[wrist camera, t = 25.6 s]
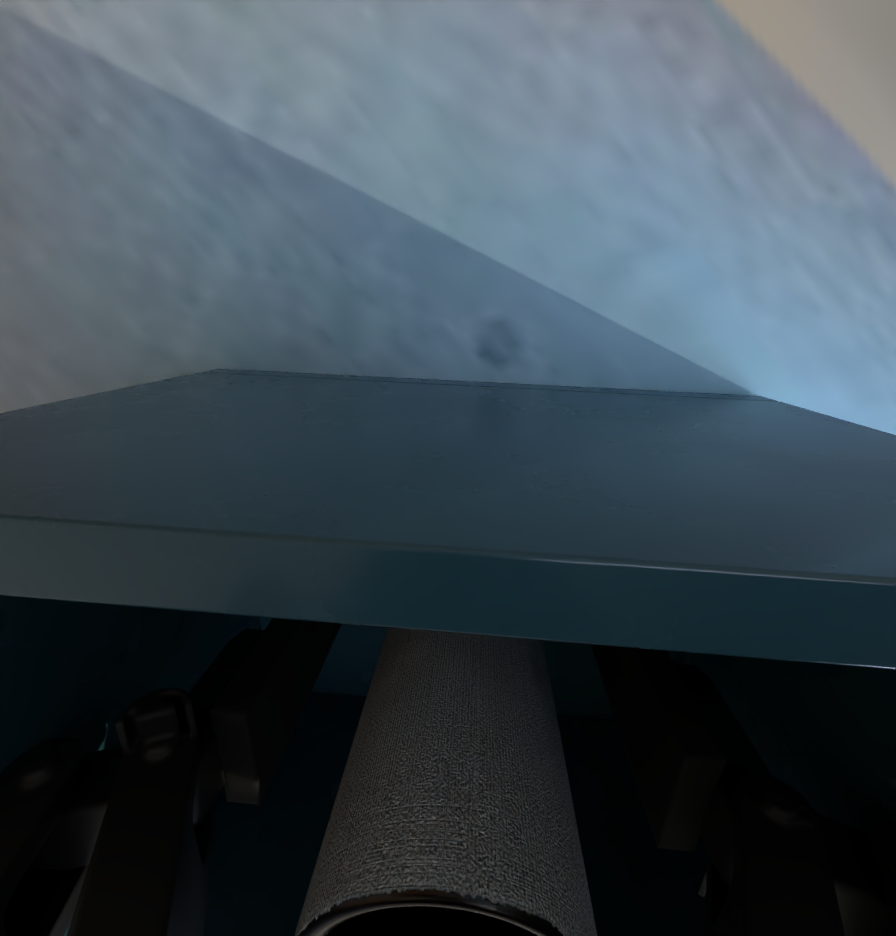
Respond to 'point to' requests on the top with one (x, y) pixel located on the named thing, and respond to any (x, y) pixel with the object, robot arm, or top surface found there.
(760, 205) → the top surface
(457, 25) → the top surface
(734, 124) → the top surface
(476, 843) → the grey hollow cylinder
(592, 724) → the chest
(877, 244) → the top surface
